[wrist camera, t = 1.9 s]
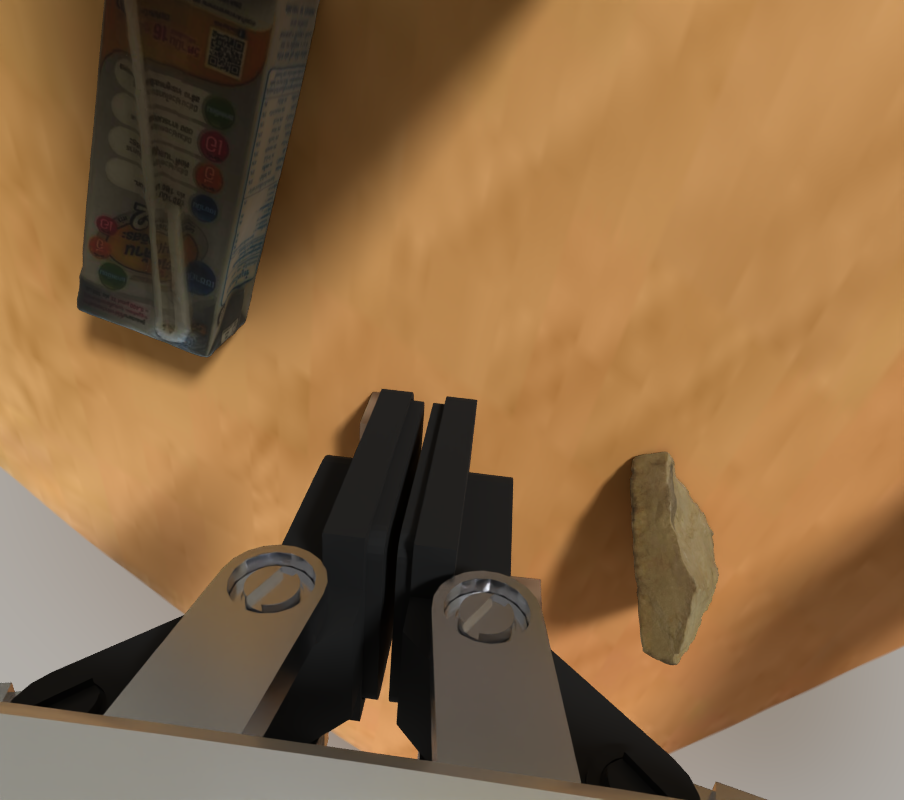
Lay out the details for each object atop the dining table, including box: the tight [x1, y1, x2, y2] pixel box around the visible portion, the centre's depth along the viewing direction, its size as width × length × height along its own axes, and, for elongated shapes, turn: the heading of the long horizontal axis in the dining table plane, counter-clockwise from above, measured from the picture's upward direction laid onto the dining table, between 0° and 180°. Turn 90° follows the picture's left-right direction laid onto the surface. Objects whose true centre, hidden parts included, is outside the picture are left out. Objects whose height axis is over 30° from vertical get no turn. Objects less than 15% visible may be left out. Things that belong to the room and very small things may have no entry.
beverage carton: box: [77, 0, 320, 357], centre depth 35 cm, size 8×19×7 cm, turn 160°
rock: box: [630, 452, 719, 665], centre depth 43 cm, size 11×9×10 cm
